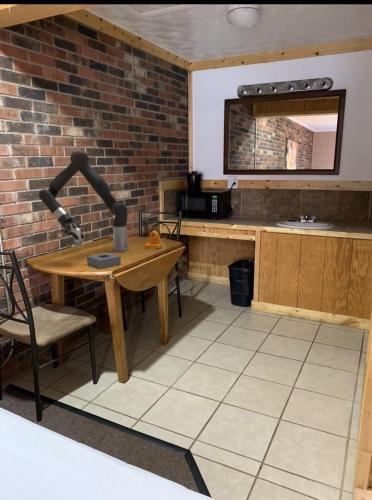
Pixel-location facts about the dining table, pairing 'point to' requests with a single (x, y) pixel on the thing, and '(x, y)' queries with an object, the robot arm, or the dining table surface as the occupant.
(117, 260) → the socket block
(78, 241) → the steel pin
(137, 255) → the dining table surface
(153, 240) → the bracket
